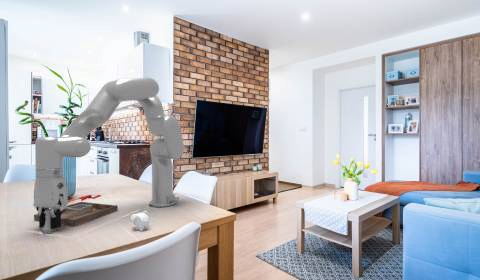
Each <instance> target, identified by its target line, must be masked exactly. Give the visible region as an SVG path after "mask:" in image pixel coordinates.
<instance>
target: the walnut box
mask: <svg viewBox="0 0 480 280" xmlns="http://www.w3.org/2000/svg"><path fill="white" fill-rule="evenodd" d="M79 204H85V205H93V211H91V212H88V213H85V214H82V215H79V216H76V215H69V214H65V210H64V212H63V213H62V215H61V226H69V227H79V225H84V224H86V223H88V222H89V223H90V222H91V221H94V220H96V219H99V218H102V217H105V216H108V215H109V214H112V213H113V214H114V213H115V212H117V211H118V209H119V208H118V204H117V205H116V204H106V203H97V202H88V201H79V202H75V203H72V204H67V208H68V207H72V206H75V205H79ZM55 210H56V211H57V210H58V209H55ZM33 222H39V215H38V213H36V214H33Z"/></svg>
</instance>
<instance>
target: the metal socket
mask: <svg viewBox="0 0 480 280" xmlns="http://www.w3.org/2000/svg"><path fill="white" fill-rule="evenodd" d="M91 211H93V205H85V204H79V205H75V206H72V207H68V208H67V209H66V210H65V214H69V215H76V216H79V215H82V214H85V213H88V212H91Z"/></svg>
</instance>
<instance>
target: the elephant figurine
mask: <svg viewBox="0 0 480 280" xmlns="http://www.w3.org/2000/svg"><path fill="white" fill-rule="evenodd" d="M130 223H132V224H133V225H134V226H135V227H134V228H135V230H138V231H140V232H143V231H144V230H148V228H149V225H150V213H149V212H148V210H143V211H142V212H137V213H132V215H131V216H130Z"/></svg>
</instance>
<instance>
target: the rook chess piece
mask: <svg viewBox="0 0 480 280" xmlns="http://www.w3.org/2000/svg"><path fill="white" fill-rule="evenodd" d="M55 212H56V210H55ZM44 213H45V214H46V216H45V217H46V221H45V225H44V227H42V228H41V229H42V232H41V233H42V234H43V235H52V233H53V232H55V231H57V230H58V228H55V229H51V228H50V218H51V217H52V214H51V208H47V209H45V212H44ZM51 232H52V233H51Z"/></svg>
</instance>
